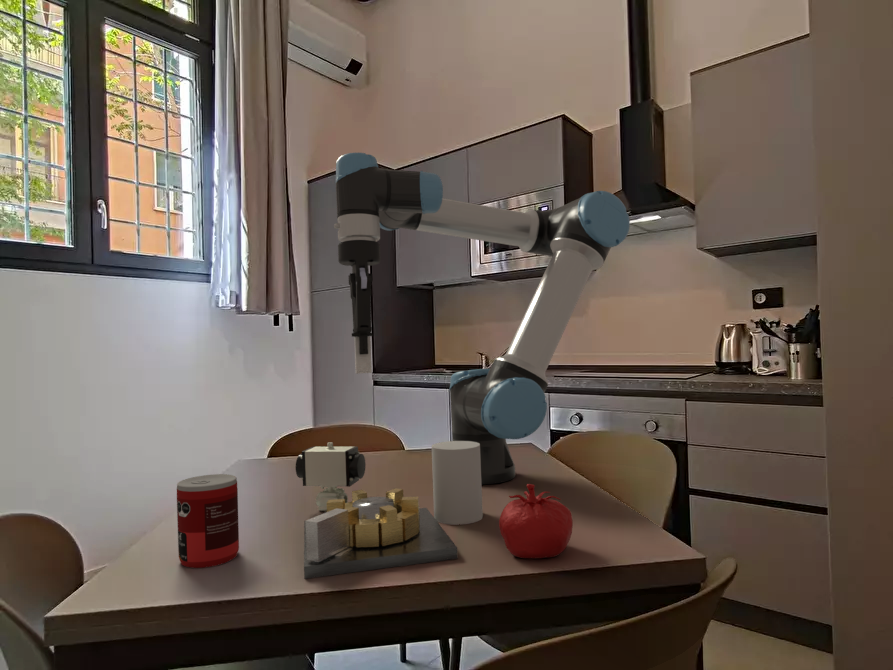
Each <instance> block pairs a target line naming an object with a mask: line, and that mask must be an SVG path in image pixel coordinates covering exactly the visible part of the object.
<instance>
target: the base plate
mask: <svg viewBox="0 0 893 670" xmlns="http://www.w3.org/2000/svg"><path fill="white" fill-rule="evenodd" d="M388 505H391V506H392V507H394V502H393V499H391V498H387V497H386V496H369V497H368V496H367V498H363V499H359V500H356V501H354V502H353V507H356V508H359V519H360V520H364V519H380V511H379V507H383V506H388ZM419 513H420V529H419V533H418V534H417V535H415V536H413V537H411V538H409V539H408V540H406V541H405V540H403V542H398V543H394V544H390V545H385V546H382V545H379V547H356V546H354V547H348V548H346V549H344V550H342V551H340V552H338V553H336V554H334V555H332V556H330V557H328V558H326V559H324V560H322V561H320V562H315V561H311V560H307V550H306V520H304V521H303V522H304V524H303V525H304V526H303V528H304V529H303V535H304V536H303V539H304V540H303V541H304V542H303V576H304V579H312V578H319V577H320V578H321V577H329V576H335V575H342V574H343V575H344V574H350V573H357V572H358V573H359V572H365V571H372V570H373V571H374V570H375V571H376V570H381V569H389V568H397V567H403V566H412V565H418V564H419V565H420V564H426V563H432V562H433V563H435V562H443V561H450V560H457V559H458V558H459V557H458V547H457V545H456V544H455V542H453V540H452V539H451V537H450V536H449V535H448V533H447V532H446V531H445V530H444V528H443V526H442V525H440V522H437V521H436V519H435V518H434V515H433V514H432V513H431V511H430V510H429V509H428V508H427V507H419Z"/></svg>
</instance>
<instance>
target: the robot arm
mask: <svg viewBox="0 0 893 670" xmlns="http://www.w3.org/2000/svg"><path fill="white" fill-rule="evenodd" d="M334 185H335V198H336V217H337V222H336V223H334V224H333V228H334V229H336V230H337V241H339V243H338V245H337V252H338V253H337V254H338V255H337V257H338V260H337V261H338V263H339V265H342V266H346V267H349V266H351V267H352V269H351V273H349V275H348V285H349V293H350V294H349V295H350V296H349V297H350V299H351V307H352V309H351V310H352V327H353V328H352V332H351V337H352V338H353V337H354V338H353V339H354V363H355V366H354V367H355V374H358V375H359V374H372V371H373V370H372V350H371V349H372V348H371V347H372V345H371V337H373V332H372V331H373V328H372V293H373V292H372V283H373V273H370V272H369V267H370V266H376V265H379V264H380V263H381V259H382V258H381V244H380V243H379V242H378V241H380V240H381V230H380V229H382V230H383V231H384V230H385V231H388V232H389V231H395V230H399V229H405V230H410V231H411V230H414V231H419V232H426V233H431V234H437V235H445V236H451V237H456V238H463V239H471V240H475V241H476V240H477V241H482V242H488V243H496V244H499V245H500V244H502V245H507V246H514V247H519V248H518V249H519V250H520V251H521V252H523V253H528V254H529V253H530V254H536V255H542V256H546V257H547V256H548V257H551V258H550V260H549V262H548V265H547V267H546V269H545V270H544V273H543V275H542V277H541V278H540V282H539V284H538V285H537V288H536V290H535V291H534V293H533V296H532V298H531V300H530V302H529V304H528V307H527V308H526V311H525V313H524V315H523V317H522V319H521V321H520V324H519V325H518V327H517V330H516V332H515V334H514V335H513V338H512V340H511V342H510V345H509V346H508V349H507V350H506V352H505V354H503V355H502V356H499V357H495V358H494V360H493V362H492V363H491V366H490V367H489V368H479V369H469V370H468V369H467V370H460V371H457V372H454V373H452V375H451V376H450V381H449V382H450V383H449V390H448V391H449V393H450V396H449V397H450V417H451V421H450V422H451V439H452V440H451V441H471V442H477V443H479V444H480V459H481V485H492V484H493V485H494V484H499V483H504V482H505V483H506V482H508V481H511V480H513V479H515V477H516V465H515V462H514V459H513V457H512V454H511V451H510V448H509V445H508V443H507V440H519V439H524V438H526V437H530V436H531V435H533V434H534V433H535V432H536V431H537V430H538V429H539V428H540V427H541V426H542V423H543V421H544V420H545V418H546V415H547V411H548V403H547V401H546V398H547V397H546V394H545V393H546V391H547V388H548V387H549V381H548V379H547V376H546V371H547V369H548V367H549V365H550V362H551V361H552V358H553V356H554V354H555V352H556V351H557V348H558V345H559V343H560V342H561V339H562V336H563V334H564V332H565V330H566V327H567V326H568V324H569V322H570V320H571V317H572V315H573V312H574V310H575V309H576V306H577V304H578V302H579V300H580V297H581V295H582V293H583V291H584V289H585V286H587V282H588V280H589V278H590V275H591V274H592V272H593V271H595V270H596V271H597V270H599V269H602V267H603V266H604V264H605V261H606V259H607V258H608V254H609V253H610V250H611V248H614V247H617V246H618V245H619V246H620V244H622V243H623V242H624V240H625V239H626V238H627V236H628V234H629V232H630V224H631V223H630V216H629V214H628V212H627V207H626V206H625V204H624V202H622V200H621V199H620V198H619V197H618V196H616V195H615V194H614V193H612V192H609V191H606V190H596V191H593V192H588V193H585V194H584V195H582V196H581V197H579V198H577V199H575V200H572V201H570V202H567V204H564V205H562V206H559V207H557V208H553V209H548V210H537V209H528V210H527V211H525V212H522V211H517V210H516V211H515V210H511V209H506V208H505V209H504V208H500V207H494V206H488V205H482V204H478V203H477V204H476V203H471V202H466V201H459V200H454V199H449V198H444V197H443V196H444V195H443V194H444V188H443V187H444V186H443V182H442V179H441V177H440V176H439V174H437V173H434V172H427V171H423V170H420V171H415V170H400V169H399V170H398V169H385V168H380V167H379V165H378V161H377V158H376V157H375V156H373V155H372V154H367V153H366V152H348V153H344V154H343V155H340V156H339V157H338V159H337V160H336V162H335V182H334Z"/></svg>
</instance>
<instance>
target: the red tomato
mask: <svg viewBox="0 0 893 670" xmlns="http://www.w3.org/2000/svg"><path fill="white" fill-rule="evenodd" d="M535 487H536V486H535V484H532V483H527V484H526V488H527V490H528V491H527V490H525V491H523V494H524V495H525V497H526V498H525V497H524V496H523V495H522V494H514V495H508V497H509V498H510V499H513V500H511V501H510V502H508V503H507V504H506V505H505V507H504V508H503V509H502V511H501V514H500V516H499V520H498V527H499V531H500V535H501V536H502V538H503V540H504V543H505V546H506V547H505V548H506V549H507V550H508V552H510V554H512V555H513V556H514V557H517V558H521V559H533V560H534V559H535V560H536V559H544V558H553V557H557V556H558V555H560V554H561V553H563V552H564V551H565V550H566V548H567V547H568V546H567V545H568V544H569V542H570V541H571V537H572V533H573V524H574V523H573V522H574V521H573V516H572V515H573V514H572V511H571V510H570V509H569V508H568V507H567V506H565V505H564V504H562V503H561V502H560V501H561V500H562V499H561V498H559V497H557V496H555V495H548V496H547V497H543V495H544V494H546V493H547V494H549V493H551V492H550V491H542V492H540V493H538V495H536V491H535ZM555 499H557V500H555ZM558 500H560V501H558Z"/></svg>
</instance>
